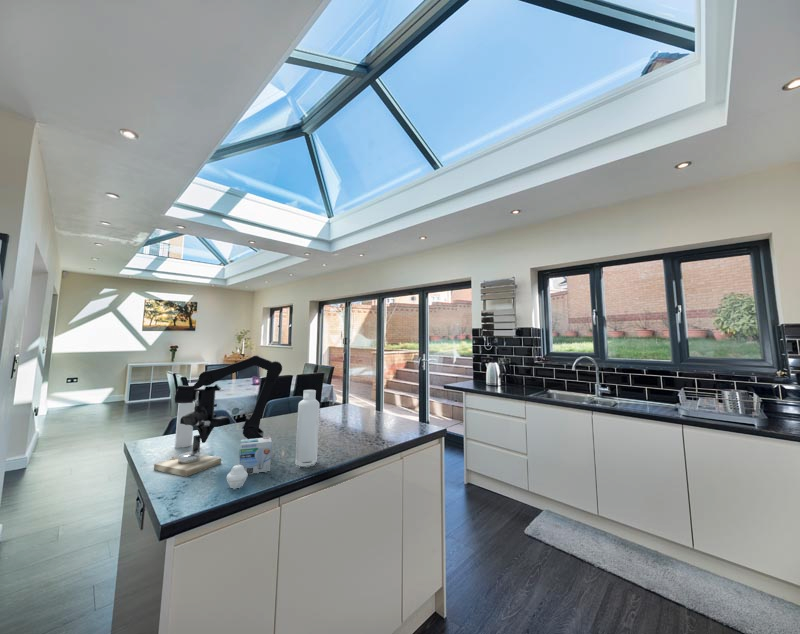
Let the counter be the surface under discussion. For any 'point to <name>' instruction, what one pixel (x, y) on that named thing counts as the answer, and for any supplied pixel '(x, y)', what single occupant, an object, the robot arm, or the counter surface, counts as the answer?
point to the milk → (184, 426)
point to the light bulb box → (255, 454)
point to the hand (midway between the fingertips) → (203, 442)
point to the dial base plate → (187, 465)
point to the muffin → (237, 476)
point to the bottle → (307, 429)
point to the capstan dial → (192, 455)
